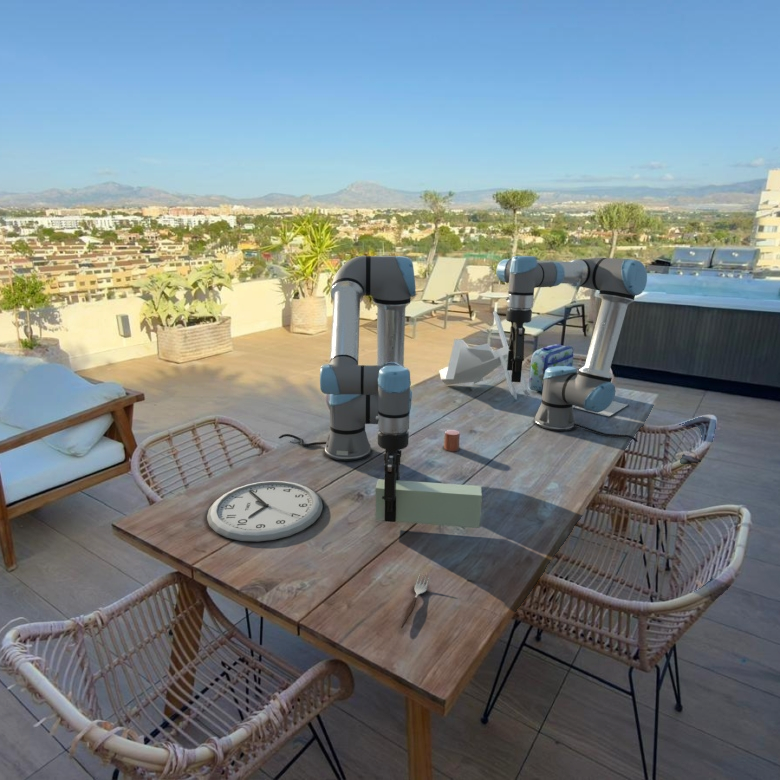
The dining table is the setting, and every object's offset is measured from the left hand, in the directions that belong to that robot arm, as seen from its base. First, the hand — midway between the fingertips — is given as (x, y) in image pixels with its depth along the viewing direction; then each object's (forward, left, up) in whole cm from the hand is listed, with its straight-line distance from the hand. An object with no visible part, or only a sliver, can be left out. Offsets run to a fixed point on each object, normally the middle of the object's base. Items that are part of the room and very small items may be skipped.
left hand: (391, 514), depth 133 cm
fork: (+19, -23, -3) cm, 30 cm away
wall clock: (-32, -12, -3) cm, 34 cm away
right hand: (+12, +55, +26) cm, 62 cm away
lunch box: (+3, +143, -3) cm, 143 cm away
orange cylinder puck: (-7, +53, -3) cm, 53 cm away
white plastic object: (-23, +119, -3) cm, 121 cm away
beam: (+8, +4, 0) cm, 9 cm away
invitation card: (+29, +129, -3) cm, 132 cm away
